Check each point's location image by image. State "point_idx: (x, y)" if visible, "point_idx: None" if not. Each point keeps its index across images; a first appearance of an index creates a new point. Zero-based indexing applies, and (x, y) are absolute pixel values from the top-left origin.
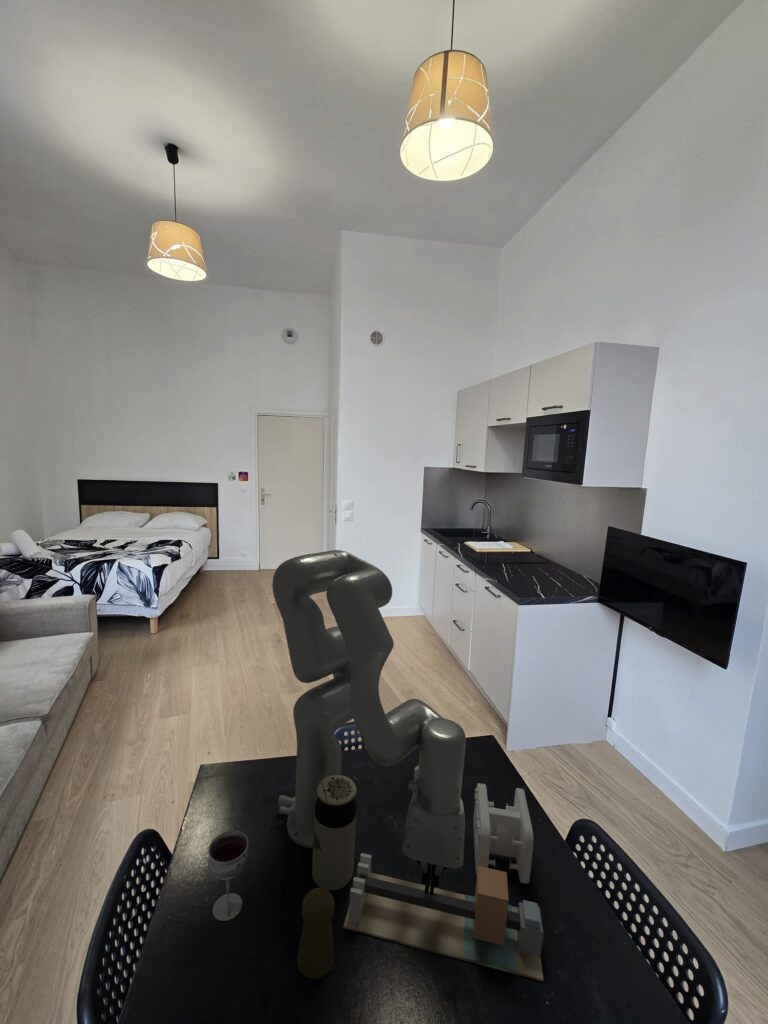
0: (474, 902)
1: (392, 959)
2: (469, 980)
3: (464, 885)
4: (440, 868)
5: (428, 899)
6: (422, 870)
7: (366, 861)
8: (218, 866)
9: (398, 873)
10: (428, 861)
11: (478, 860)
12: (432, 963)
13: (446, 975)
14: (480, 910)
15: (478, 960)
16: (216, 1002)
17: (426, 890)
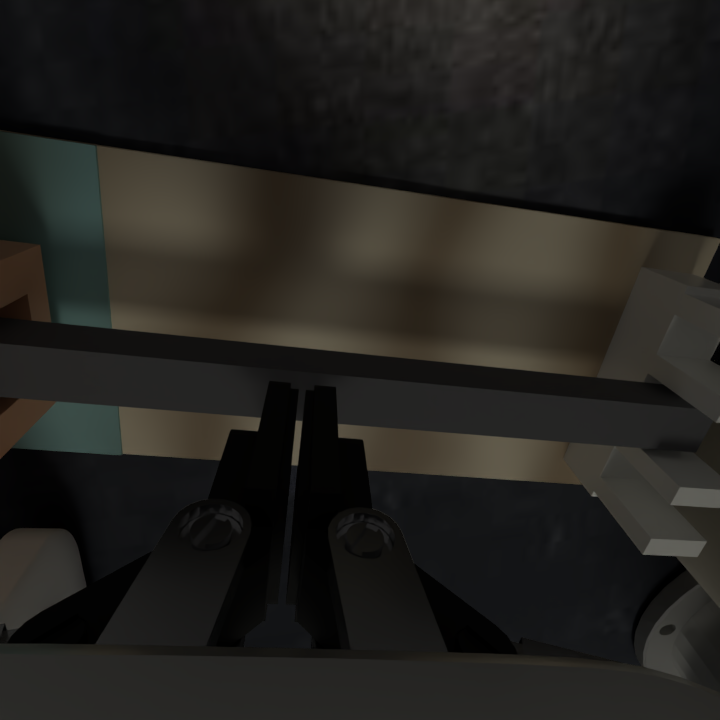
0: (26, 408)
1: (488, 108)
2: (55, 31)
3: (134, 492)
4: (168, 577)
5: (303, 376)
6: (381, 523)
7: (656, 520)
8: None
9: (433, 496)
10: (350, 699)
11: (4, 620)
12: (274, 109)
13: (192, 48)
14: None
15: (6, 137)
16: None
17: (323, 398)
